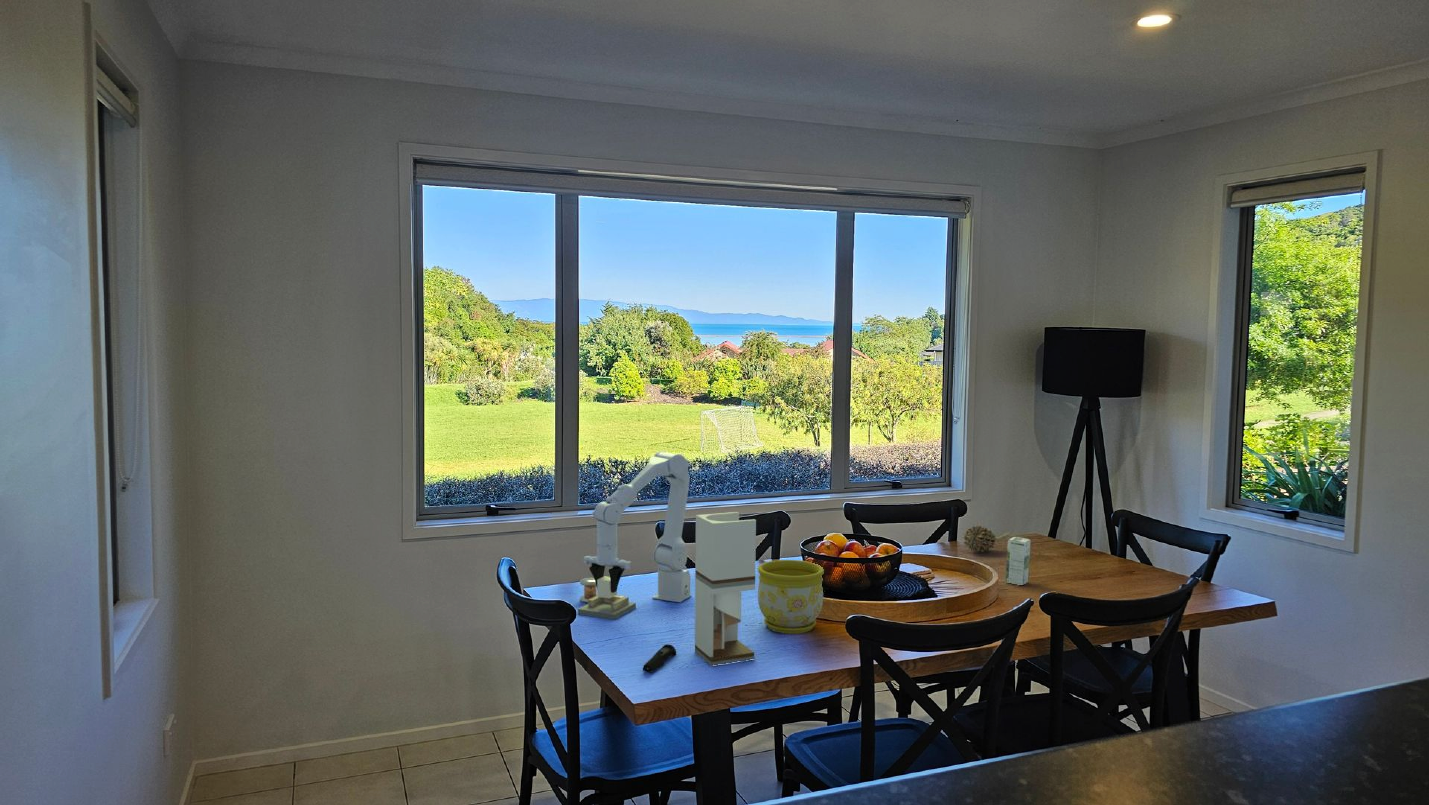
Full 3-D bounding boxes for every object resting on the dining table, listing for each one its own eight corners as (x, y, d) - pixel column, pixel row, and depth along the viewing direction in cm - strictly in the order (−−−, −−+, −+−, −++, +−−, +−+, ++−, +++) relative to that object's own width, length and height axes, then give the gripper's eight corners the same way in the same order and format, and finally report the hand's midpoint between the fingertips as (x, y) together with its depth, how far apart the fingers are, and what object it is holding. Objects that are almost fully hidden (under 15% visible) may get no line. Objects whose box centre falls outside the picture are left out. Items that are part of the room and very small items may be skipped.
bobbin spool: (604, 598, 275) (604, 579, 274) (593, 604, 269) (593, 584, 269) (587, 596, 277) (587, 576, 277) (576, 601, 272) (576, 581, 271)
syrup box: (1011, 579, 300) (1012, 536, 299) (1029, 582, 297) (1030, 538, 296) (1005, 583, 295) (1006, 539, 294) (1023, 586, 292) (1025, 542, 291)
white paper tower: (711, 667, 220) (712, 523, 217) (694, 652, 230) (695, 515, 227) (754, 660, 225) (755, 520, 222) (736, 646, 234) (737, 511, 232)
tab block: (616, 594, 264) (616, 577, 263) (609, 598, 260) (609, 581, 260) (604, 593, 265) (604, 576, 265) (597, 596, 262) (597, 579, 261)
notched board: (635, 608, 266) (635, 596, 266) (614, 619, 255) (614, 607, 255) (600, 602, 271) (600, 591, 271) (578, 614, 260) (577, 602, 260)
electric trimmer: (638, 675, 216) (638, 662, 215) (663, 653, 230) (663, 641, 230) (652, 678, 214) (652, 665, 214) (677, 655, 229) (677, 642, 229)
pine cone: (976, 557, 329) (977, 530, 329) (956, 552, 338) (957, 525, 337) (1017, 549, 341) (1018, 523, 341) (996, 544, 350) (997, 519, 349)
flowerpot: (786, 612, 264) (787, 556, 262) (836, 627, 251) (837, 568, 249) (743, 626, 251) (744, 567, 250) (793, 642, 238) (794, 580, 237)
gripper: (577, 544, 261) (577, 591, 262) (622, 549, 255) (622, 597, 256) (591, 539, 267) (591, 585, 268) (634, 544, 261) (634, 591, 262)
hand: (607, 590), depth 262 cm, fingers closed on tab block, 4 cm apart
